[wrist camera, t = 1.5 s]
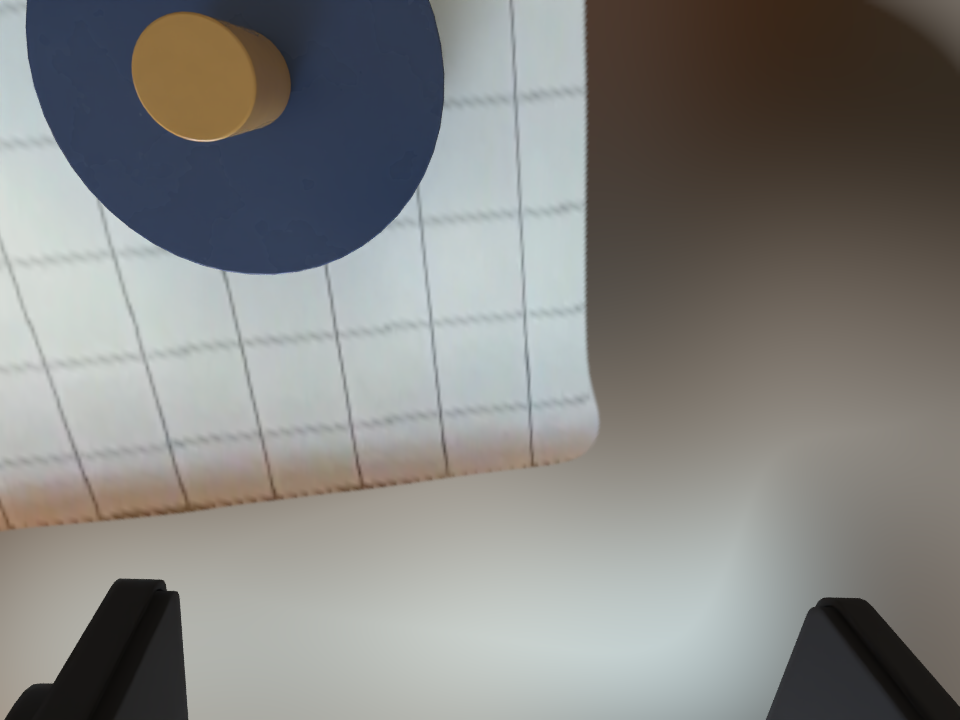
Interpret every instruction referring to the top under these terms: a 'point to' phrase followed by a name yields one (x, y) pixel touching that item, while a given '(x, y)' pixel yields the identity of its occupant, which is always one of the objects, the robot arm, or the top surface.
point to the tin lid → (243, 119)
